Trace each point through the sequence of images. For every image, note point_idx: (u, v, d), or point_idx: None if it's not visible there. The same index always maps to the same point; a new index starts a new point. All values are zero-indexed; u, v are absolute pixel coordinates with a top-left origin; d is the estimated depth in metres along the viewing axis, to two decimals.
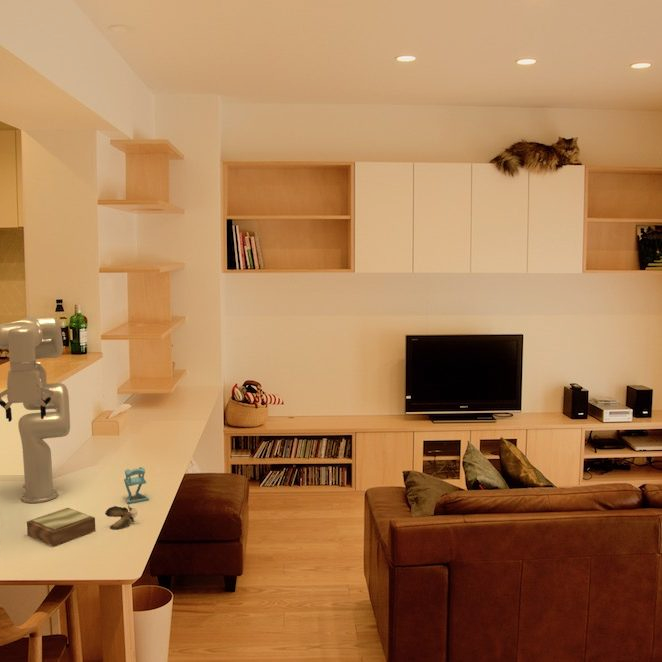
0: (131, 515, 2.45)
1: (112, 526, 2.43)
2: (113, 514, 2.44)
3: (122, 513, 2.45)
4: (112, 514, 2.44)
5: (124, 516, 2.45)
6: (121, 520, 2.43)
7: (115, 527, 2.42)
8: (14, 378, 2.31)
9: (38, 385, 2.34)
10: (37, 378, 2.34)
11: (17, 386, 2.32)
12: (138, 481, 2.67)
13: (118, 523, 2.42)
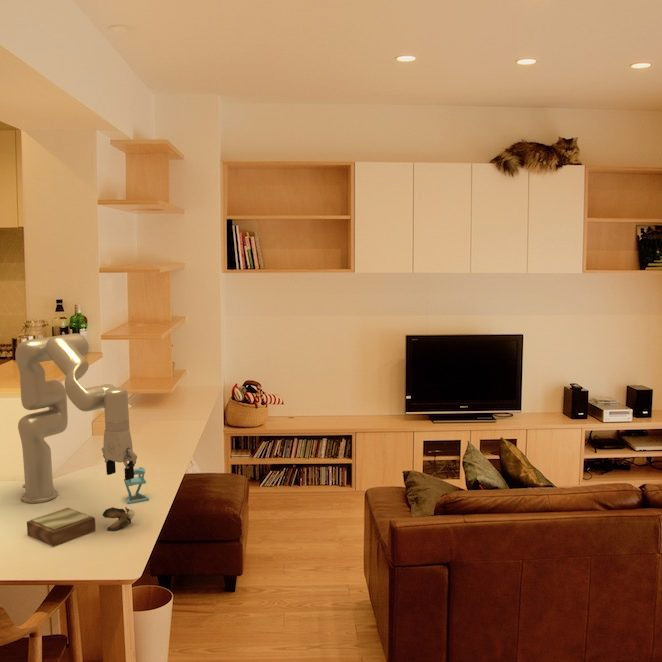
0: (129, 517, 2.44)
1: (109, 527, 2.41)
2: (110, 515, 2.43)
3: (119, 514, 2.44)
4: (109, 515, 2.43)
5: (121, 517, 2.44)
6: (118, 521, 2.42)
7: (112, 528, 2.40)
8: None
9: None
10: None
11: None
12: (138, 481, 2.67)
13: (115, 524, 2.41)
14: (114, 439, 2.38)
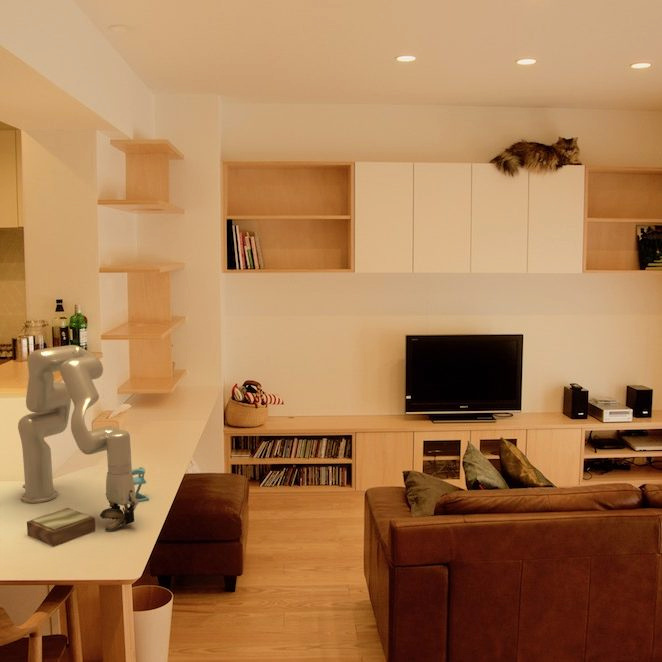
0: None
1: (107, 528, 2.41)
2: (108, 516, 2.42)
3: (117, 515, 2.43)
4: (107, 516, 2.42)
5: (119, 518, 2.43)
6: (116, 522, 2.41)
7: (110, 529, 2.40)
8: None
9: None
10: None
11: None
12: (138, 481, 2.67)
13: (113, 525, 2.40)
14: (117, 482, 2.40)
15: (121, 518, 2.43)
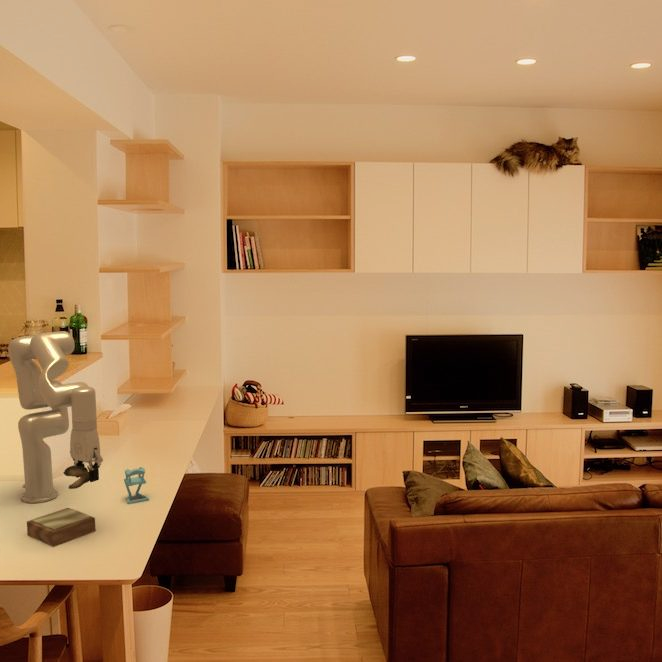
0: None
1: (71, 486, 2.36)
2: (72, 473, 2.37)
3: (81, 472, 2.38)
4: (71, 473, 2.37)
5: (83, 476, 2.38)
6: (80, 479, 2.36)
7: (74, 486, 2.35)
8: None
9: None
10: None
11: None
12: (138, 481, 2.67)
13: (77, 482, 2.35)
14: (81, 439, 2.35)
15: (85, 476, 2.38)
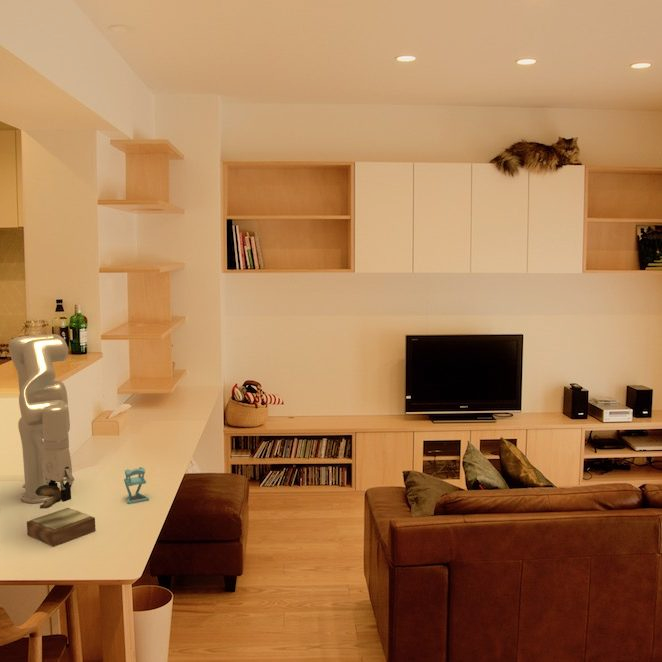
0: None
1: (42, 505, 2.33)
2: (43, 493, 2.34)
3: (53, 492, 2.35)
4: (42, 493, 2.34)
5: (55, 495, 2.35)
6: (52, 499, 2.34)
7: (45, 506, 2.32)
8: None
9: None
10: None
11: None
12: (138, 481, 2.67)
13: (48, 502, 2.33)
14: (52, 458, 2.32)
15: (57, 495, 2.35)
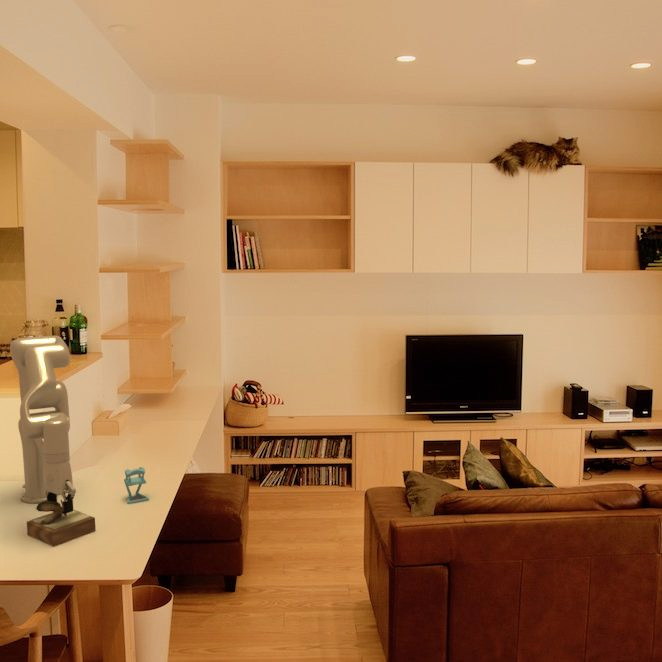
0: None
1: (43, 521, 2.34)
2: (44, 509, 2.35)
3: (54, 508, 2.36)
4: (43, 509, 2.35)
5: (56, 511, 2.36)
6: (52, 515, 2.35)
7: (46, 522, 2.33)
8: None
9: None
10: None
11: None
12: (138, 481, 2.67)
13: (49, 518, 2.34)
14: (53, 471, 2.33)
15: (58, 511, 2.36)
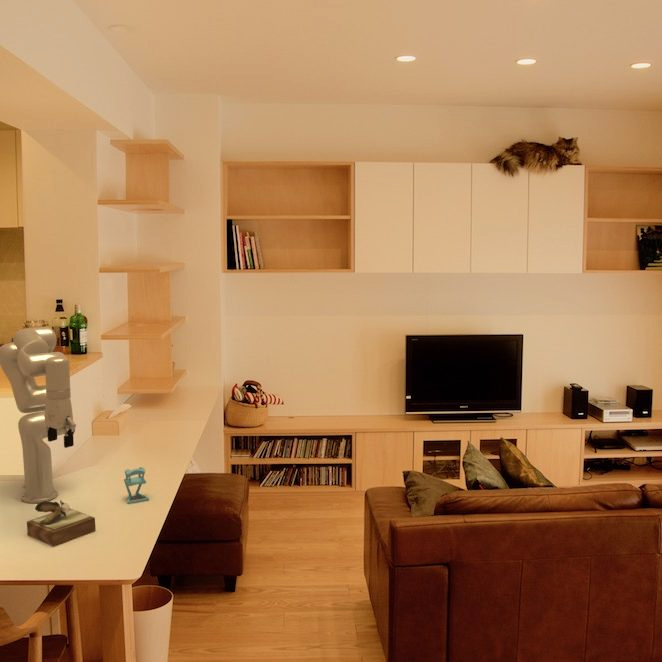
0: (63, 510, 2.37)
1: (42, 521, 2.34)
2: (43, 509, 2.35)
3: (53, 508, 2.36)
4: (42, 509, 2.35)
5: (55, 511, 2.36)
6: (52, 515, 2.34)
7: (45, 522, 2.33)
8: None
9: None
10: None
11: None
12: (138, 481, 2.67)
13: (49, 518, 2.34)
14: (54, 407, 2.41)
15: (57, 511, 2.36)
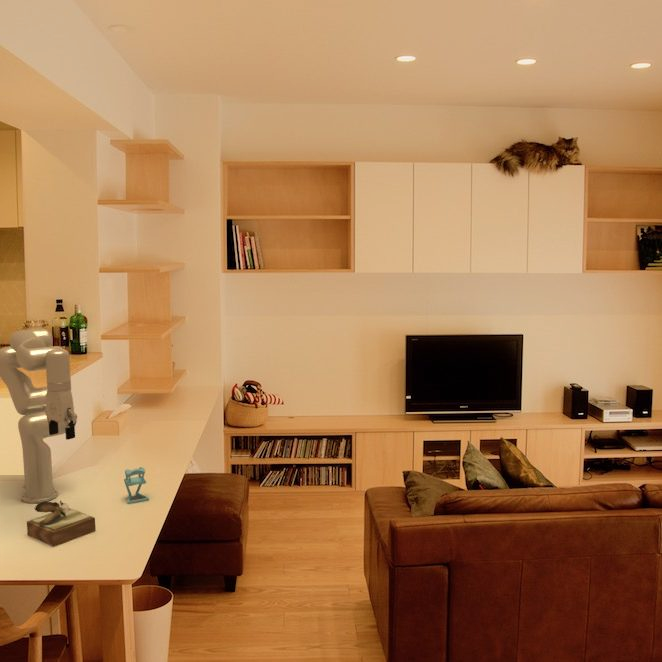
0: (63, 510, 2.36)
1: (42, 522, 2.34)
2: (43, 509, 2.35)
3: (53, 508, 2.36)
4: (42, 509, 2.35)
5: (55, 511, 2.36)
6: (51, 515, 2.34)
7: (45, 523, 2.33)
8: None
9: None
10: None
11: None
12: (138, 481, 2.67)
13: (48, 518, 2.33)
14: (55, 399, 2.44)
15: (57, 511, 2.36)
